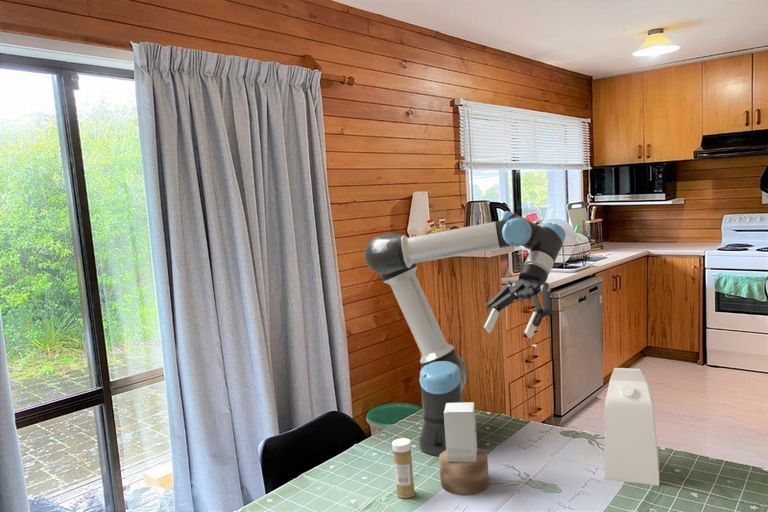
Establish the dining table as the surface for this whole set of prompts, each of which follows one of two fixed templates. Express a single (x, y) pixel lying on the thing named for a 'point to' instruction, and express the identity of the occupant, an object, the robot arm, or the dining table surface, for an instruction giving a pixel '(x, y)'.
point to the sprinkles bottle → (403, 468)
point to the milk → (630, 429)
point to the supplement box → (460, 432)
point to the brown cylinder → (464, 474)
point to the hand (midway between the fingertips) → (506, 332)
